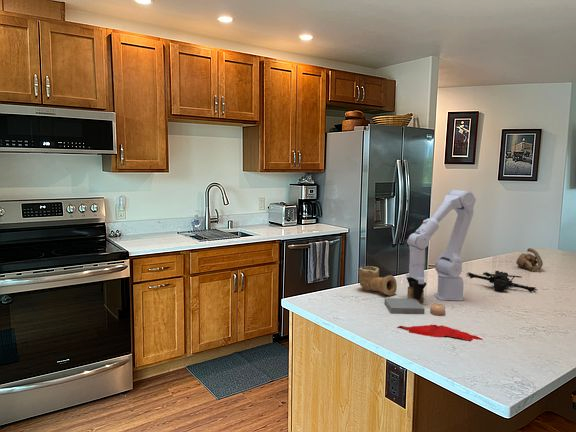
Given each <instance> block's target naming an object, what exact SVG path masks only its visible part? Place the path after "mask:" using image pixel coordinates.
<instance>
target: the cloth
mask: <svg viewBox="0 0 576 432" xmlns="http://www.w3.org/2000/svg"><path fill="white" fill-rule="evenodd" d="M396 328H397V329H404V330H406V331H408V333H410V334H415V335H420V336H426V337H431V338H443V337H448V338H451V337H452V338H455V339H460V340H466V341H469V342H472V341H473V340H479V341H480V340H481V341H483V340H484V339H483V338H482V337H479V336H478V335H473V334H470V333H468V332H465V331H461V330H460V329H456V328H451V327H449V326H445V325H437V324H429V325H427V324H426V325H425V324H424V325H414V326H413V325H412V326H404V325H399V326H397V327H396Z"/></svg>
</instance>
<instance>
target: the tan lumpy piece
mask: <svg viewBox="0 0 576 432" xmlns="http://www.w3.org/2000/svg"><path fill="white" fill-rule="evenodd" d="M527 252H530V253H521V254H520V255H519V256H518V258H517V259H516V265H517V266H518V267H519V268H521V269H524V268H525V270H527V269H528V270H530V271H531V272H533V273H534V272H535V273H537V272H539V271H541V269H542V267H543V265H544V264H543V260H542V258H541V256H540V254H539V252H537V250H535V249H534V248H530V247H529V248H527ZM531 253H532V254H531Z"/></svg>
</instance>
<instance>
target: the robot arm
mask: <svg viewBox="0 0 576 432" xmlns="http://www.w3.org/2000/svg"><path fill="white" fill-rule="evenodd" d="M443 199H444V200H443V201H442V203H441V204H440V205H439V207H438V208H437V210H436V211H435V213H433V215H432V216H431V217H430V218H426V219H424V220H423V221H422V223H421V225H420V226H419V227H418V228H417V229H416V230H415V232H413V233H411V234H410V235H409V236H408V239H407V240H406V242H407V245H408V247H409V248H408V249H409V265H408V266H409V267H408V273H406V274H405V276H406V280H407V283H408V287H413V291H414V299H416V300H420V299H421V295H422V292H423V290H424V289H425V287H426V286H427V282H425V266H426V265H425V264H426V263H425V260H426V259H425V258H426V248H427V247H428V246H429V245H430V240H431V237H432V236H433V235H434V234H435V233H436V231H437V230H438V229H439V228H440V225H439V224H440V223H441V222H442V221H443V219H444V218H445V217H446V216H447V215H448V214H449V213H450V212H451V211H453V210H454V211H455V212H456V213H457V216H456V218H455V222H454V226H453V228H452V231H451V233H450V237H449V240H448V243H447V246H446V248H445V249H446V250H445V251H443V252H442V253H440V254H439V257H438V258H437V260H436V261H435V263H434V269H435V271H436V273H437V274H436V275H438V276H437V290H436V291H437V292H434V293H433V294H434V296H435V297H436V298H438V300H440V301H464V288H465V287H464V286H465V285H464V279H463V277H462V276H460V275H461V273H462V272H463V271H462V270H463V268H462V267H463V259H462V257H461V256H460V255H461V252H462V249H463V245H464V243H465V240H466V237H467V235H468V231H469V229H470V227H471V226H470V225H471V223H472V219H473V216H474V207H475V204H476V201H477V199H476V196H475V195H474V193H473V192H472V191H470V190H459V189H458V190H457V189H450V190H449V191H448V192H447V194H446V195H445V196H444V197H443Z"/></svg>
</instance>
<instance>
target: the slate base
mask: <svg viewBox="0 0 576 432" xmlns="http://www.w3.org/2000/svg"><path fill="white" fill-rule="evenodd" d="M383 302H384V305H385V306H386V308H387V310H388V311H389V312H390V314H403V315H406V314H408V315H409V314H410V315H411V314H413V315H425V309H426V308H425V307H424V306H423V305H422V303H419V302H418V301H417V300H416V299H407V297H406V298H405V297H403V298H400V297H399V298H398V297H397V298H396V297H395V298H393V297H385V298H384V301H383Z"/></svg>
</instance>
